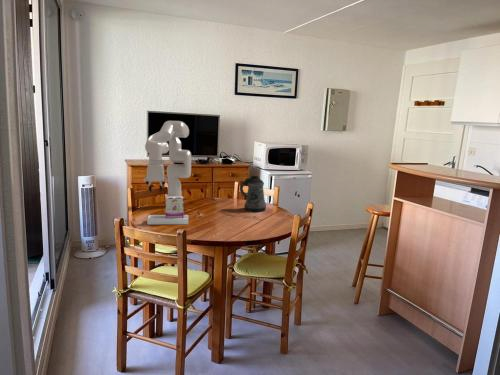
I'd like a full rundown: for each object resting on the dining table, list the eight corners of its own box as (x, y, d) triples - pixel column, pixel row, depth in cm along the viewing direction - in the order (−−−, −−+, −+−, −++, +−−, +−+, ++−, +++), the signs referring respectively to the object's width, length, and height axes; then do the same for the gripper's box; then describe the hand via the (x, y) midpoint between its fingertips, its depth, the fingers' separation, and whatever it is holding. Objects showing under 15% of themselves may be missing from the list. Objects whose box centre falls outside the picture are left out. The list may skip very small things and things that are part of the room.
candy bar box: (183, 221, 231) (183, 196, 228) (183, 223, 226) (183, 197, 223) (165, 221, 228) (165, 196, 226) (165, 223, 223) (165, 197, 221)
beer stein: (269, 211, 266) (271, 178, 261) (245, 213, 258) (246, 178, 254) (260, 206, 281) (262, 174, 277) (237, 208, 274) (238, 175, 269)
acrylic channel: (149, 220, 229) (149, 215, 228) (188, 220, 233) (188, 215, 232) (147, 224, 220) (147, 218, 219) (188, 224, 224) (188, 218, 223)
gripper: (170, 162, 224) (170, 191, 227) (141, 161, 221) (142, 190, 224) (169, 163, 217) (169, 193, 220) (140, 162, 214) (140, 193, 217)
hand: (155, 191), depth 222 cm, fingers open, 5 cm apart
